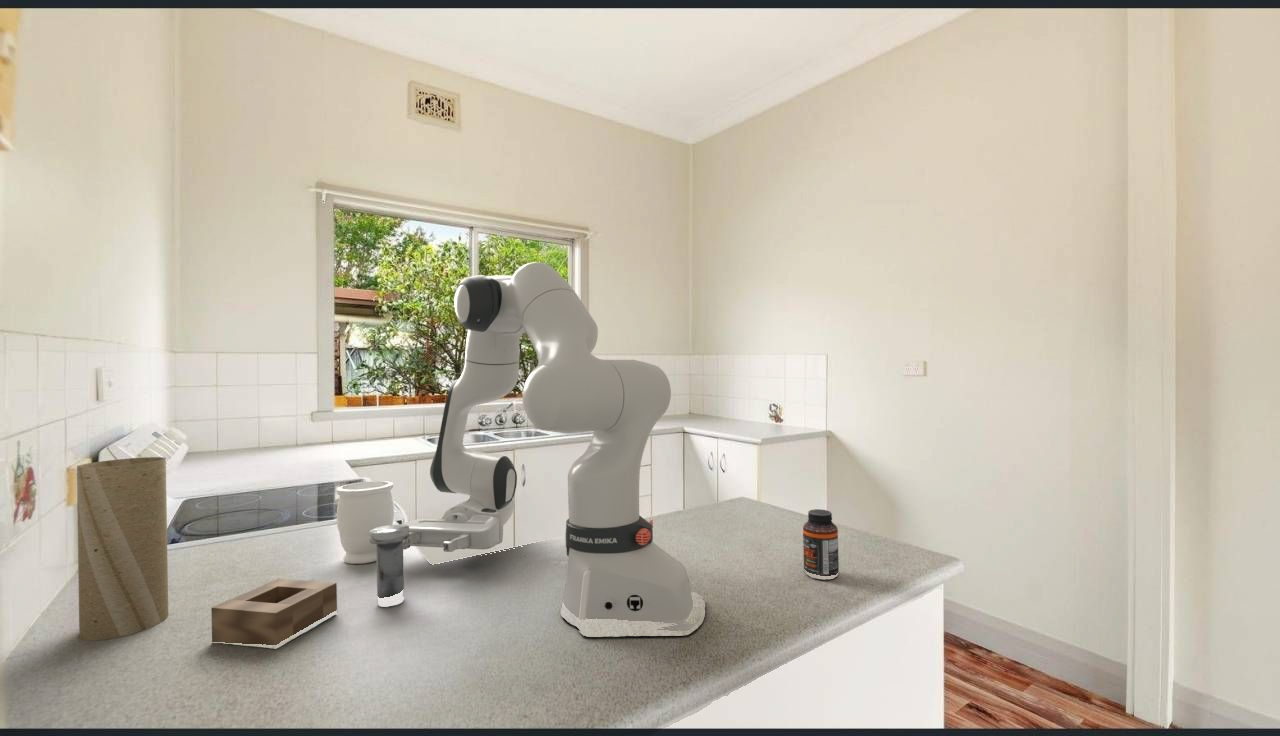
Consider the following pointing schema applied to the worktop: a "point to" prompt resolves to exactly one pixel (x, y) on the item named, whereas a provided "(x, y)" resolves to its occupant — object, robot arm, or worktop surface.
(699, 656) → the worktop surface
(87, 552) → the tube
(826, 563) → the supplement bottle
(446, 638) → the worktop surface
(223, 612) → the block
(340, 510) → the jar
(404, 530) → the pin
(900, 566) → the worktop surface
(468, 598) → the worktop surface
